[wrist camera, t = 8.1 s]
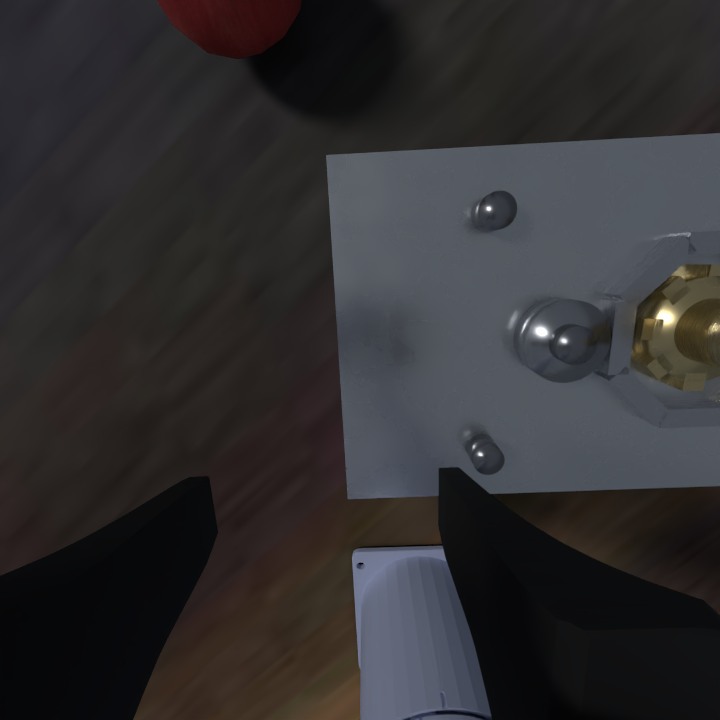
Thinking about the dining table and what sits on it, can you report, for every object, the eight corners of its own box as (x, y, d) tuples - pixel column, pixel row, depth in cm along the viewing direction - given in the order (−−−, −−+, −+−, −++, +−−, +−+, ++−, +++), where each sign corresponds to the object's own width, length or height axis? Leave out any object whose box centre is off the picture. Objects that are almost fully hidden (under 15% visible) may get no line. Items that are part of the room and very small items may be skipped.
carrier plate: (734, 475, 22) (796, 510, 19) (348, 489, 23) (345, 525, 20) (808, 134, 18) (904, 106, 15) (328, 160, 18) (320, 139, 15)
